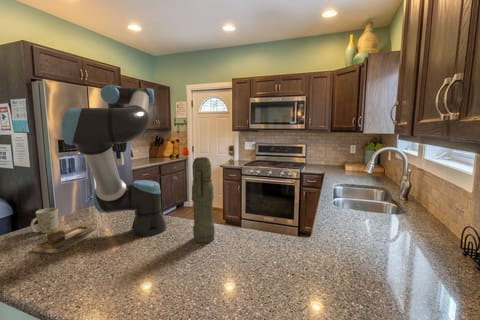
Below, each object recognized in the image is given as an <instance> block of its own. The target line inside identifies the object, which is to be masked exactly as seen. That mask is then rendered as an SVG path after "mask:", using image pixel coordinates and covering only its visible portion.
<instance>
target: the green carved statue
mask: <svg viewBox="0 0 480 320" xmlns="http://www.w3.org/2000/svg"><path fill="white" fill-rule="evenodd" d="M192 178H193V180H192V186H191V200H192V202H193V223H194V224H193V227H192V228H193V229H192V230H193V231H192V232H193V233H192V234H193V241H194V243H196V244H200V245H204V244H205V245H207V244H210V243H212V242H214V240H215V234H216V232H215V222H214V213H213V212H214V211H213V210H214V209H213V201H214V185H213V182H212V181H213V180H212V164H211V161H210V158H208V157H204V156H202V157H195V158H193V162H192Z"/></svg>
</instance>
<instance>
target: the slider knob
mask: <svg viewBox="0 0 480 320" xmlns="http://www.w3.org/2000/svg"><path fill="white" fill-rule="evenodd" d="M64 232H65V231H64V230H61V228H60V227H57V228H54V229H52V230H51V232H50V233H46V238H47V240H48V244H51V245H55V244H57V243H59V242H61V241H63V240H65V237H68V235H65V233H64Z"/></svg>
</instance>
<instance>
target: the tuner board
mask: <svg viewBox="0 0 480 320" xmlns="http://www.w3.org/2000/svg"><path fill="white" fill-rule="evenodd" d="M64 233H65V235H68V237H65V240H63V241H61V242H59V243H57V244H55V245H51V244H48V240H45V241H42V242H40V243H39V244H37V245H34V246H32V247H31V251H32V252H37V253H38V252H39V253H49V254H50V253H51V254H60V253H62V252H63V251H66V250H67V249H69V248H71V247H73V246H75V245H76V244H79V243H80V242H82V241H84V240H86V239H87V238H89V237H90V236H93V235H95V234H96V233H98V229H97V228H93V227H92V226H86V225H85V226H84V225H77V226H74V227H72V228H70V229H68V230H66V231H64Z"/></svg>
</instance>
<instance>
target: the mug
mask: <svg viewBox="0 0 480 320" xmlns="http://www.w3.org/2000/svg"><path fill="white" fill-rule="evenodd" d="M58 217H59V208H58V207H46V208H42V209H38V210H37V211H35V218H33V219H32V220H31V222H30V225H29V226H30V227H29V228H30V231H31V232H33V233H39V232H41V234H50V233H51V230H52V229H54V228H58V222H59V220H58V219H59V218H58ZM36 222H37V223H38V227H39V229H35V227H34V224H35V223H36Z"/></svg>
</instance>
